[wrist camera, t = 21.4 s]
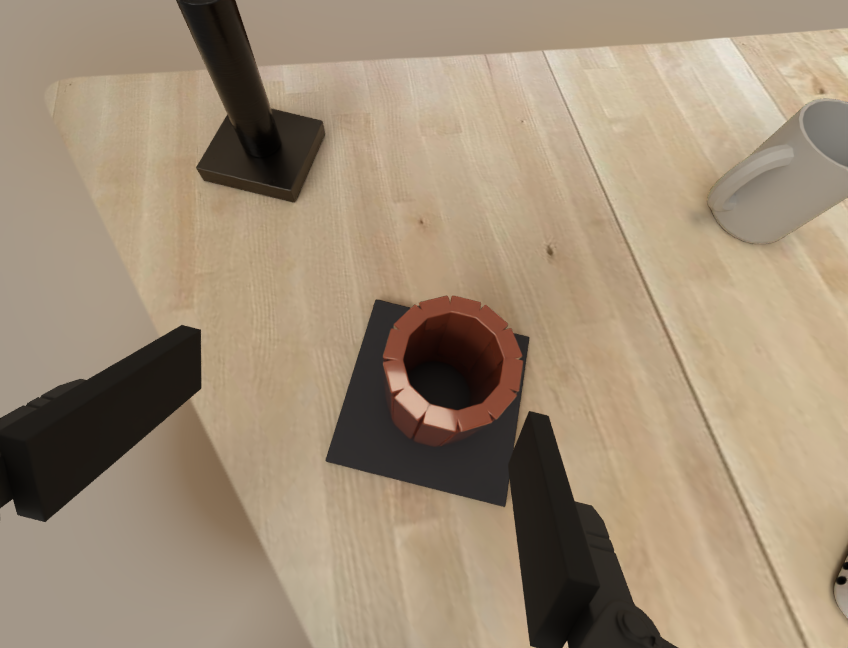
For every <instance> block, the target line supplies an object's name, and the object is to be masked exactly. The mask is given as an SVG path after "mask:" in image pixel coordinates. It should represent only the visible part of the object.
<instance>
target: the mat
mask: <svg viewBox="0 0 848 648" xmlns="http://www.w3.org/2000/svg"><path fill="white" fill-rule="evenodd" d="M409 309H410V308H409V307H405V306H401V305H397V304H393V303H389V302H385V301H381V300H377V299H376V300H375V303H374V307H373V310H372V313H371V316H370V320H369V323H368V326H367V329H366V332H365V336H364V339H363V342H362V345H361V348H360V352H359V355H358V358H357V361H356V364H355V368H354V371H353V374H352V377H351V380H350V384H349V387H348V390H347V393H346V396H345V400H344V403H343V406H342V409H341V412H340V416H339V419H338V422H337V425H336V429H335V432H334V435H333V438H332V441H331V445H330V448H329V451H328V454H327V457H326V462H330V463H334V464H338V465H342V466H346V467H350V468H354V469H357V470H361V471H365V472H369V473H373V474H377V475H381V476H385V477H389V478H393V479H397V480H401V481H405V482H409V483H413V484H417V485H421V486H424V487H428V488H432V489H436V490H440V491H444V492H448V493H452V494H456V495H460V496H464V497H468V498H472V499H476V500H480V501H484V502H488V503H491V504H495V505H499V506H503V507H505V505H506V498H507V491H508V484H509V471H508V463H509V461H510V458H511V455H512V453H513V449H514V442H515V435H516V428H517V421H518V414H519V407H520V400H521V393H522V386H523V379H524V372H525V365H526V358H527V351H528V344H529V337H527V336H523V335H519V334H515V333H513V334H514V336H515V339H516V341H517V344H518V346H519V349H520V351H521V354H522V357H521V358H520V359H519V360H522V361H523V366H522V373H521V380H520V387H519V391H518V392H517V393H515V394H516V395H517V396H516V397H515V399H514V400H513V401H512V402H511V403H510V405H509V406H508V407H507V408H506V409H505V410H504V412H503V413H502V414H501V415H500V416H499V417H498V419H496V420H495V421H493V422H491V423H490V424H488V425H486V426H485V427H483V428H481V429H480V430H478V431H476V432H474V433H473V434H471V435H469V436H467V437H466V438H464V439H462V440H460V441H457V442H454V443H451V444H448V445H444V446H441V447H440V446H439V445H438V446H436V447H434V446H430V445H426V444H422V443H418V442H414V441H413V439H414V436H413V437H412V438H411V439H409V438H408V437H407V436H406V435H405V434H404V433H403V432H402V431H401V430H400V429H399V428H398V427H397V426H396V425H395V424H394V419H393V420H392V419H391V416H390V412H389V409H388V405H387V401H386V395H385V383H384V371H383V354H384V351H385V347H386V344H387V340H388V337H389V333H390V330H391V329H394V323H395V322H396V321H398V320H399V319H400V318H401V317H402V316H403V315H404V314H405V313H406V312H407V311H408V310H409ZM408 378H409V381H410V385H411V386H412V387H413V388H414V389H415V390H416V391H417V392H419V393H420V394H421V395H422V396H423V397H424V398H425V399H426V400H427V401H428V402H429V403H430V404H434V405H438V406H442V407H446V408H450V409H454V410H460V409H463V408H466V407H468V406H469V401H470V395H471V394H470V391H469V388H468V385H467V382H466V379H465V377H464V376H463V375H462V374H461V373H460V372H459V371H458V370H456V369H455V368H454V367H453V366H452V365H450V364H446V363H442V362H438V361H431V362H427V363H424V364H420V365H417V366H416V367H415V368H414V369H413V370H412V371H411V372H410V373H409V374H408Z"/></svg>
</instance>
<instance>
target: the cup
mask: <svg viewBox="0 0 848 648" xmlns="http://www.w3.org/2000/svg"><path fill="white" fill-rule="evenodd" d="M846 198H848V102H845V101H841V100H837V99H825V98H824V99H818V100H813V101H811V102H809V103H808V104H806V105H805V106H804V107H802V108H801V109H800V110H799V111H798V112H797V113H796V114H795V115H794V116H793V117H791V118H790V119H789V120H788V121H787V122H786V123H785V124H784V125H783V126H782V127H780V128H779V129H778V130H777V131H776V132H775V133H774V134H773V135H772V136H771V137H769V138H768V139H767V140H766V141H765V142H764V143H763V144H762V145H761V146H760V147H758V148H757V149H756V150H755V151H754V152H753V153H752V154H751V155H750V156H749V157H747V158H746V159H745V160H744V161H742V162H740V163H739V164H737V165H736V166H735V167H734V168H732V169H731V170H730V171H728V172H727V173H726V174H725V175H724V176H723V177H721V178H720V179H719V180H718V181H717V182H716V183H715V185H714V186H713V187H712V188H711V189H710V192H709V194H708V197H707V203H708V206H709V207H710V208H711V209H712V212H713V215H714V217H715V219H716V220H717V222H718V223H719V225H720V226H721V227H722V228H723V229H724V230H725V231H727V232H728V233H729V234H731V235H732V236H734V237H736V238H738V239H740V240H742V241H745V242H749V243H753V244H768V243H772V242H776V241H778V240H780V239H781V238H783V237H785V236H787V235H788V234H790V233H791V232H793V231H795V230H796V229H798V228H799V227H801V226H803V225H804V224H806V223H808V222H809V221H811V220H812V219H814V218H816V217H817V216H819V215H820V214H822V213H824V212H825V211H827V210H829V209H830V208H832V207H833V206H835V205H837V204H838V203H840V202H841V201H843V200H845V199H846Z"/></svg>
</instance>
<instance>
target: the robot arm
mask: <svg viewBox="0 0 848 648" xmlns="http://www.w3.org/2000/svg"><path fill="white" fill-rule="evenodd" d="M200 389H201V330H200V329H196V328H192V327H188V326H184V325H181V326H179V327H178V328H176V329H174V330H172V331H171V332H169V333H167V334H166V335H164V336H162V337H160V338H159V339H157V340H155V341H153V342H152V343H150V344H148V345H147V346H145V347H143V348H141V349H140V350H138V351H136V352H134V353H133V354H131V355H129V356H128V357H126V358H124V359H122V360H121V361H119V362H117V363H115V364H114V365H112V366H110V367H108V368H107V369H105V370H103V371H102V372H100V373H98V374H96V375H95V376H93V377H91V378H89V379H88V380H84V379H79V380H75V381H72V382H69V383H66V384H63V385H60V386H57V387H56V388H54V389H52V390H50V391H48V392H47V393H45V394H43V395H42V396H41V397H40V398H39V397H38V398H36V399H34V400H32V401H30V402H29V403H27V405H26V406H22V407H20V408H18V409H16V410H14V411H12V412H11V413H9V414H7V415H5V416H3V417H2V418H0V508H1V507H3V506H4V505H5V504H7V503H8V502H9V501H11V500H12V499H13V500H14V504H15V508H16V512H17V515H20V516H23V517H27V518H32V519H35V520H39V521H43V522H46V521H47V520H48V519H49V518H50V517H52V516H53V515H54V514H55V513H56V512H58V511H59V510H60V509H61V508H62V507H63V506H64V505H66V504H67V503H68V502H69V501H70V500H72V499H73V498H74V497H75V496H76V495H77V494H79V493H80V492H81V491H82V490H83V489H84V488H86V487H87V486H88V485H89V484H90V483H91V482H93V481H94V480H95V479H96V478H97V477H98V476H99V475H101V474H102V473H103V472H104V471H105V470H107V469H108V468H109V467H110V466H111V465H112V464H114V463H115V462H116V461H117V460H118V459H119V458H121V457H122V456H123V455H124V454H125V453H126V452H128V451H129V450H130V449H131V448H132V447H133V446H135V445H136V444H137V443H138V442H139V441H140V440H142V439H143V438H144V437H145V436H146V435H147V434H148V433H150V432H151V431H152V430H153V429H154V428H155V427H157V426H158V425H159V424H160V423H162V422H163V421H164V420H165V419H166V418H167V417H168V416H170V415H171V414H172V413H173V412H174V411H175V410H177V409H178V408H179V407H180V406H181V405H183V404H184V403H185V402H186V401H187V400H188V399H190V398H191V397H192V396H193V395H194V394H195V393H197V392H198V391H199V390H200ZM508 471H509V479H510V487H511V495H512V503H513V511H514V519H515V527H516V535H517V544H518V552H519V560H520V568H521V576H522V584H523V592H524V600H525V608H526V616H527V625H528V633H529V641H530V646H532V647H536V648H563V646H564V644H565V643H566V641H567V642H568V647H569V648H678V647H676V646H674V645H673V644H671V643H669V642H668V641H666V640H665V639H663V638H662V637H661V636H660V633H659V631H658V630H657V628H656V626H655V625H654V623H653V622H652V620H651V619H650V618H649V617H648V616H647V615H646V614H645V613H644V612H643V611H642V610H641V609H639V608H638V607H636V606H635V604H634V602H633V600H632V597H631V594H630V591H629V589H628V586H627V583H626V581H625V578H624V575H623V572H622V570H621V567H620V564H619V562H618V559H617V556H616V553H614V548H613V545H612V543H611V540H609V534H608V532H607V529H606V526H605V524H604V521H603V520H602V518H601V517H600V516H599V514H598V513H597V512H596V510H595V509H594V508H593V506H591V505H587V504H583V503H579V502H575V501H574V498H573V495H572V491H571V488H570V485H569V482H568V478H567V475H566V472H565V468H564V465H563V462H562V459H561V455H560V452H559V449H558V445H557V442H556V439H555V436H554V432H553V429H552V426H551V422H550V419H549V416H547V415H543V414H539V413H535V412H531V411H529V413H528V415H527V418H526V420H525V423H524V425H523V428H522V430H521V433H520V435H519V438H518V440H517V443H516V445H515V448H514V450H513V453H512V455H511V458H510V461H509V463H508Z"/></svg>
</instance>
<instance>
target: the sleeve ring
mask: <svg viewBox="0 0 848 648" xmlns="http://www.w3.org/2000/svg"><path fill="white" fill-rule="evenodd" d="M480 308H481V302H477V301H473V300H469V299H465V298H461V297H457V296H452V297H451V300H449V297H448V296H443V297H439V298H435V299H431V300H427V301H423V302H420V303H419V307H418V306H417V305H414V306H412V307H411V308H410V309H409V310H408V311H407V312H406V313H405V314H404V315H403V316H402V317H401V318H400V319H399V320H398V321H396V322H395V323H394V329H391V330H390V333H389V337H388V340H387V344H386V347H385V351H384V354H383V371H384V383H385V395H386V401H387V405H388V409H389V412H390V416H391V419H392V420H393V419H394V424H395V425H396V426H397V427H398V428H399V429H400V430H401V431H402V432H403V433H404V434H405V435H406V436H407V437H408V438H409V439H411V438H412V437H413V436H414V439H413V441H414V442H418V443H422V444H426V445H430V446H434V447H436V446H438V445H439V446H440V447H441V446H444V445H448V444H451V443H454V442H457V441H460V440H462V439H464V438H466V437H467V436H469V435H471V434H473V433H474V432H476V431H478V430H480V429H481V428H483V427H485V426H486V425H488V424H490V423H491V422H493V421H495V420H496V419H498V417H499V416H500V415H501V414H502V413H503V412H504V410H505V409H506V408H507V407H508V406H509V405H510V403H511V402H512V401H513V400H514V399H515V397H516V396H517V395H516V394H515V393H517V392H518V391H519V387H520V380H521V373H522V366H523V361H522V360H519V359H520V358H521V357H522V354H521V351H520V349H519V346H518V344H517V341H516V339H515V336H514V334H513V331H512V329H511V328H509V329H506V327H507V326H508V323H507V322H506V321H504V320H503V319H502V318H501V317H500V316H498V315H497V314H496V313H495V312H494V311H493V310H491V309H490V308H489V307H488V306H487V305H484V306H483V307H482V308H481V309H480ZM431 361H438V362H442V363H446V364H450V365H452V366H453V367H454V368H455V369H456V370H458V371H459V372H460V373H461V374H462V375H463V376H464V377H465V379H466V382H467V385H468V388H469V391H470V394H471V395H470V401H469V406H468V407H466V408H463V409H460V410H454V409H450V408H446V407H442V406H438V405H434V404H430V403H429V402H428V401H427V400H426V399H425V398H424V397H423V396H422V395H421V394H420V393H419V392H417V391H416V390H415V389H414V388H413V387H412V386H411V385H410V381H409V378H408V374H409V373H410V372H411V371H412V370H413V369H414V368H415V367H416V366H417V365H420V364H424V363H427V362H431Z"/></svg>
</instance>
